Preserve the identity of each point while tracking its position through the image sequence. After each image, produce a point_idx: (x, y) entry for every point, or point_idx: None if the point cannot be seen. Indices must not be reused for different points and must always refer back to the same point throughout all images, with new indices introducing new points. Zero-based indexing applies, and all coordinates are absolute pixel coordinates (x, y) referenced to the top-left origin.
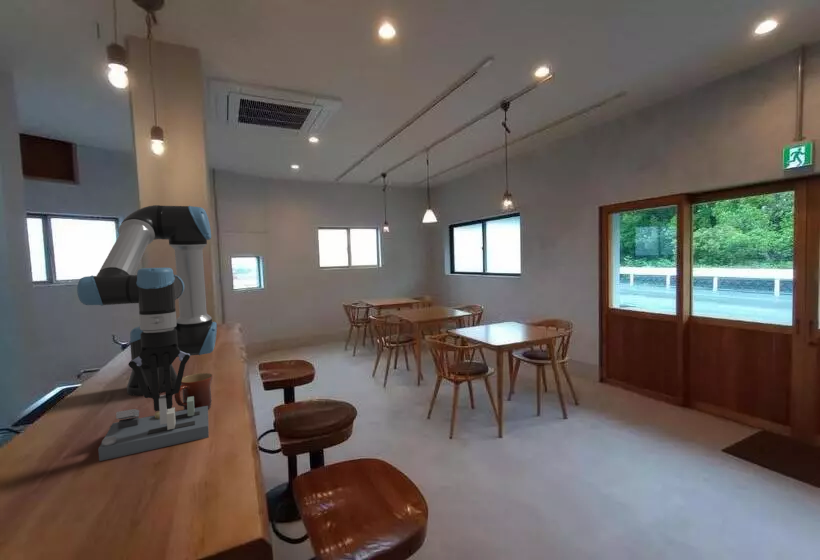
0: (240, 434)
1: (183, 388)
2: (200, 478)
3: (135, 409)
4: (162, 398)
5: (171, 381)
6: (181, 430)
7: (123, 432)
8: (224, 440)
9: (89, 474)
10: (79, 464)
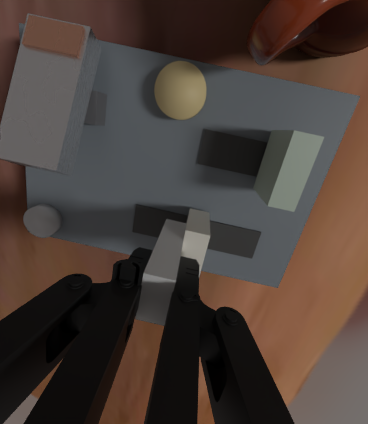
0: (330, 304)
1: (319, 14)
2: (206, 391)
3: (67, 123)
4: (151, 321)
5: (198, 359)
6: (212, 268)
7: None
8: (288, 306)
9: (46, 264)
10: (14, 204)
